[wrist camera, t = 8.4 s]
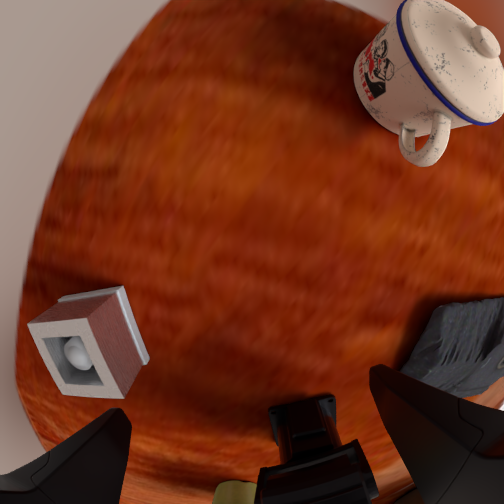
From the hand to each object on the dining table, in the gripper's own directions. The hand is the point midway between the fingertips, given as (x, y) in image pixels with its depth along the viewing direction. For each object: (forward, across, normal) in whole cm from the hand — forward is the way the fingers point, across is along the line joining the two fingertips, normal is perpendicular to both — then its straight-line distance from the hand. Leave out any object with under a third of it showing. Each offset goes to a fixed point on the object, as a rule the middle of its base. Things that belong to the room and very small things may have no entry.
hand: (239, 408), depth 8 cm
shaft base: (+13, +13, +1) cm, 19 cm away
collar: (+12, +13, +1) cm, 18 cm away
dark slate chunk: (+14, -23, +15) cm, 31 cm away
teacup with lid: (+13, -15, -12) cm, 23 cm away
